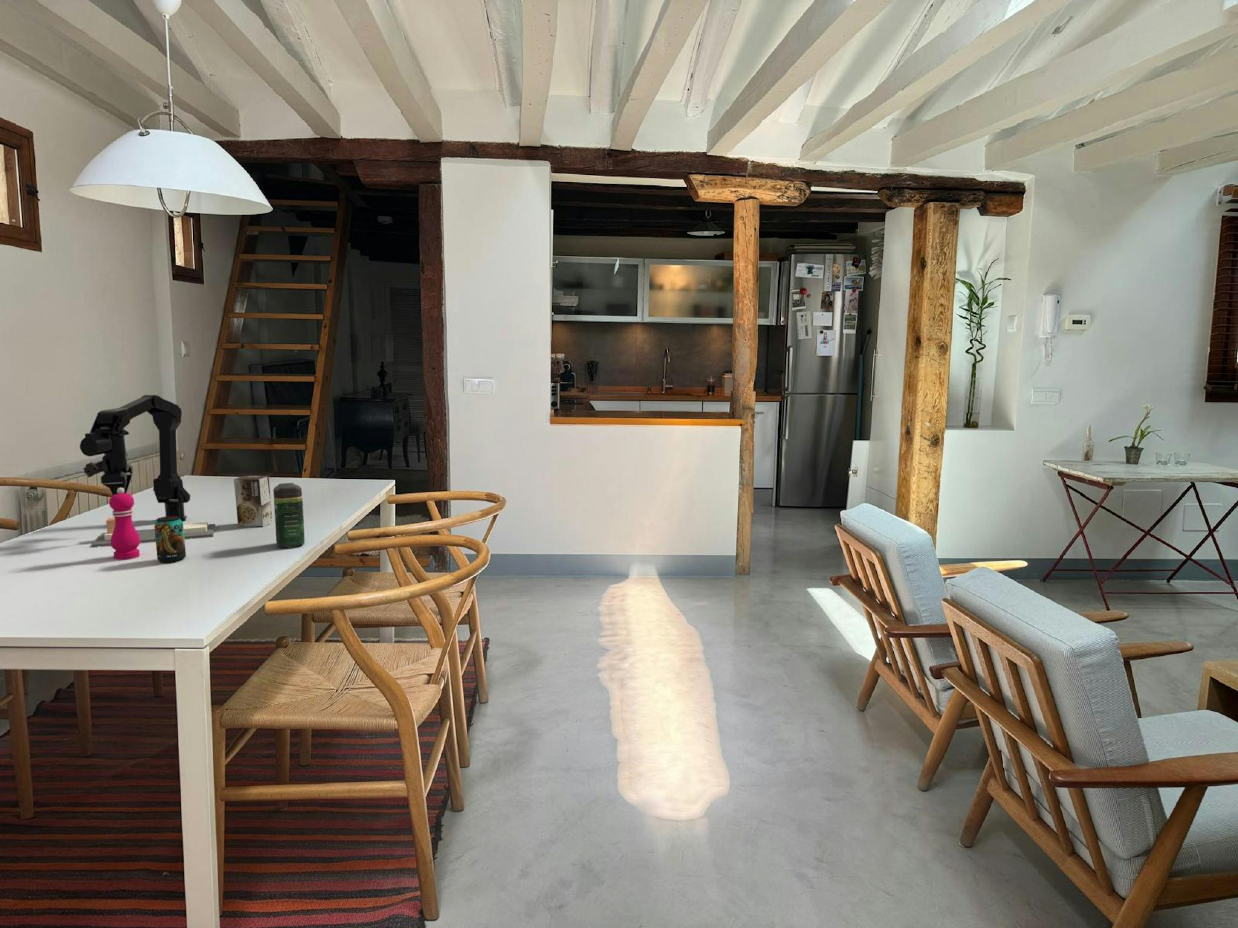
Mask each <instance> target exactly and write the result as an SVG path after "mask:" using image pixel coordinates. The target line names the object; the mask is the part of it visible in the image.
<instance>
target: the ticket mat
mask: <svg viewBox="0 0 1238 928" xmlns="http://www.w3.org/2000/svg"><path fill="white" fill-rule="evenodd" d="M183 526H184V538H185V540H189V539H190V538H192V539H201V538H211V537H212V538H213V537H214V533H215V530H216V523H208V522H207V521H203V522H193V523H192V522H191V523H183ZM136 531H137V533H138V534H139V537H140V544H144V543H153V542H154V543H156V539H155V528H150V529H136ZM106 533H107V532H102V533H100V534H99V536H98V537H97V539H96V540H95V541H94V542H93V543H92V548H97V546H101V547H111V540H105V537H104V535H105V534H106Z"/></svg>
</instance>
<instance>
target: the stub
mask: <svg viewBox="0 0 1238 928" xmlns="http://www.w3.org/2000/svg"><path fill="white" fill-rule="evenodd" d="M105 523H106V532H105V533H106V534H105V535H104V537H105V540H111V537H112V534H113V531H114V528H115V518H114V517H108V518H107V519H106V520H105Z"/></svg>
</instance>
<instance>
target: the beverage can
mask: <svg viewBox="0 0 1238 928" xmlns="http://www.w3.org/2000/svg"><path fill="white" fill-rule="evenodd" d="M155 520H156V522H155V524H154V526H153V527H154V528H153V529H155V539H156V542H155V549H156V559H157V561H159V562H160V563H162V564H171V563H177V562H181V561H183V560H185V558H186V557H187V552H186V539H185V538H184V526H183V524H184V522H183V521H181V520H180V517H179V516H167V517H166V516H161V517H158V518H156V519H155Z"/></svg>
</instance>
